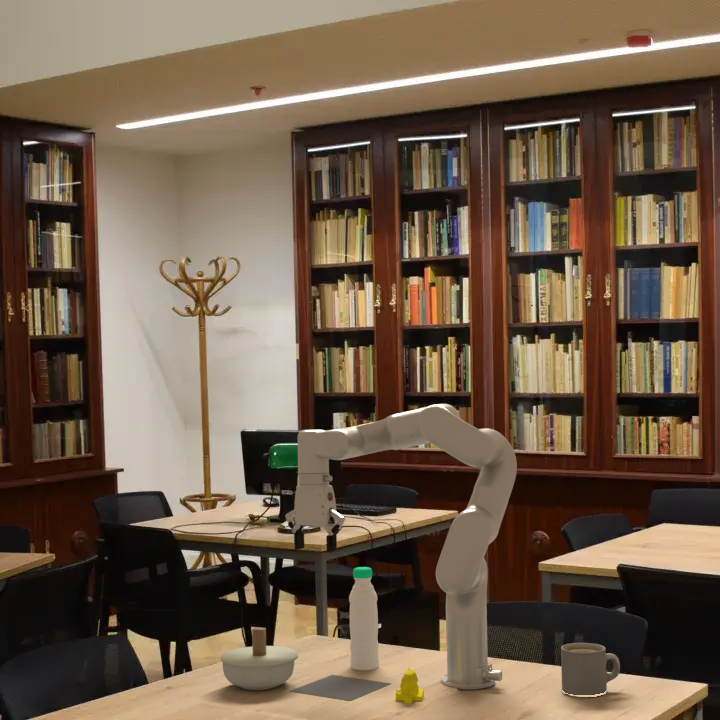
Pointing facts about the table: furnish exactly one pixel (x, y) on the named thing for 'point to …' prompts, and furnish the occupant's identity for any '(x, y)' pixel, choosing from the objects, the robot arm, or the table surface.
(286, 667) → the cereal bowl
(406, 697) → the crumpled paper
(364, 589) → the water bottle
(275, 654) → the lid
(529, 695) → the table surface
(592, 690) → the coffee mug
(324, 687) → the mat
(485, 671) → the robot arm
